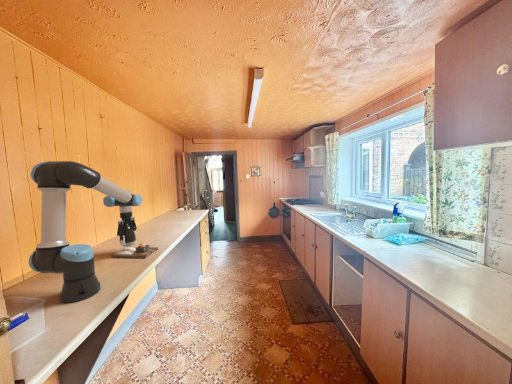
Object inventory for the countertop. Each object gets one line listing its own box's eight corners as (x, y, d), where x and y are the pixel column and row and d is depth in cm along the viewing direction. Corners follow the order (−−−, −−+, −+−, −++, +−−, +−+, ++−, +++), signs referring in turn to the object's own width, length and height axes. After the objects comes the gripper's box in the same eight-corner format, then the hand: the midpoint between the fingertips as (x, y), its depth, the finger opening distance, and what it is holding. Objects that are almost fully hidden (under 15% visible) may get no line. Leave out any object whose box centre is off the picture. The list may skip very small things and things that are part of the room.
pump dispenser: (130, 248, 146) (128, 227, 144) (116, 247, 147) (114, 226, 145) (139, 243, 156) (138, 223, 154) (126, 243, 157) (125, 223, 155)
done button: (143, 248, 148) (143, 244, 148) (138, 248, 149) (138, 244, 148) (147, 246, 152) (146, 242, 152) (141, 246, 153) (141, 242, 152)
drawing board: (145, 258, 142) (145, 250, 142) (111, 257, 144) (110, 250, 144) (158, 249, 158) (158, 242, 158) (127, 249, 160) (127, 242, 160)
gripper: (119, 215, 137) (121, 247, 139) (140, 209, 160) (142, 237, 162) (108, 215, 138) (111, 247, 140) (131, 209, 160) (133, 236, 163)
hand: (128, 241), depth 151 cm, fingers closed on pump dispenser, 10 cm apart
